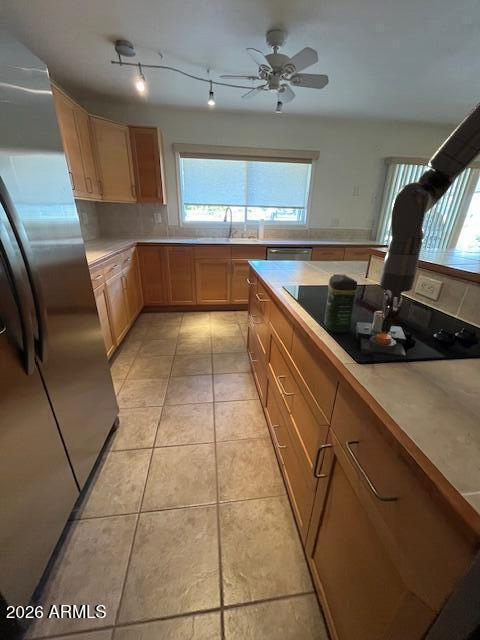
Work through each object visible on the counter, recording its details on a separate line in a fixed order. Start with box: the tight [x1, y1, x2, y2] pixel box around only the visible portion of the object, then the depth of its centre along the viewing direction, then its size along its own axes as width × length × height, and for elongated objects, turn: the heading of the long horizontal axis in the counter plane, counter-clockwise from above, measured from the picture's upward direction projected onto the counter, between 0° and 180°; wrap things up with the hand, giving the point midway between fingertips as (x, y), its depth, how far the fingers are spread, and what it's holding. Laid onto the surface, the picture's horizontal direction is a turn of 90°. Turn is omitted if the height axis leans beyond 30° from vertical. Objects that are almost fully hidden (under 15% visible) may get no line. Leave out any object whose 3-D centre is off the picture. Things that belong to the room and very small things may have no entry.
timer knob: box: [372, 310, 387, 333], centre depth 81 cm, size 5×5×6 cm
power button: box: [376, 333, 391, 344], centre depth 75 cm, size 4×4×2 cm
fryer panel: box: [355, 321, 407, 345], centre depth 83 cm, size 13×9×3 cm
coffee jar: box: [323, 273, 358, 334], centre depth 88 cm, size 10×8×19 cm
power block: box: [359, 335, 407, 357], centre depth 76 cm, size 11×7×4 cm, turn 69°
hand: (385, 331), depth 74 cm, fingers closed
